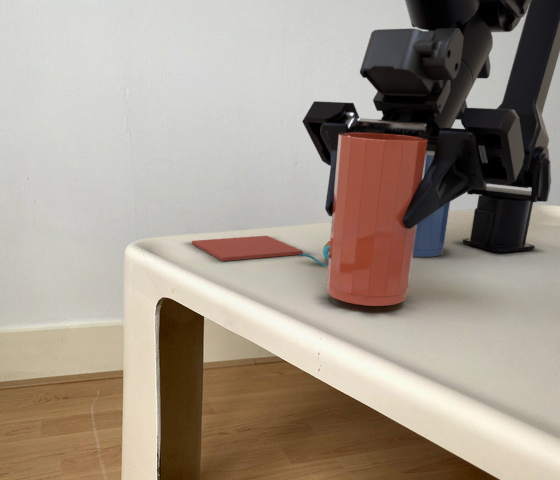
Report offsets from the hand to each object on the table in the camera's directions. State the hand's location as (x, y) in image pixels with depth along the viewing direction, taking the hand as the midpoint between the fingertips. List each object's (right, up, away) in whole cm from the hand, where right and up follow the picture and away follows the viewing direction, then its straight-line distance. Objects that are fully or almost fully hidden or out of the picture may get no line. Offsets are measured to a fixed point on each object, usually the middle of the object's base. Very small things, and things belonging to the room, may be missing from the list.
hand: (365, 219), depth 52 cm
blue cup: (+9, +2, +24) cm, 26 cm away
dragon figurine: (0, 0, +19) cm, 19 cm away
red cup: (+1, -6, +4) cm, 7 cm away
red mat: (-11, +2, +22) cm, 24 cm away
